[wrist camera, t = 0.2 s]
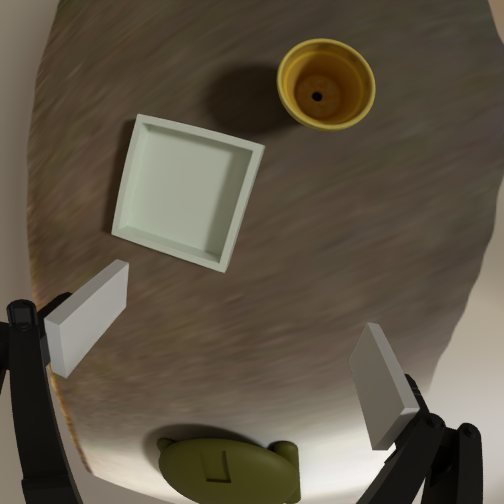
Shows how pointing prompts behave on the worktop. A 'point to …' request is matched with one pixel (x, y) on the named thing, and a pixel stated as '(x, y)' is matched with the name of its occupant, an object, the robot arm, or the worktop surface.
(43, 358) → the robot arm
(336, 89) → the plant pot
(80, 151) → the worktop surface
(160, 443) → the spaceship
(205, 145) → the tray
